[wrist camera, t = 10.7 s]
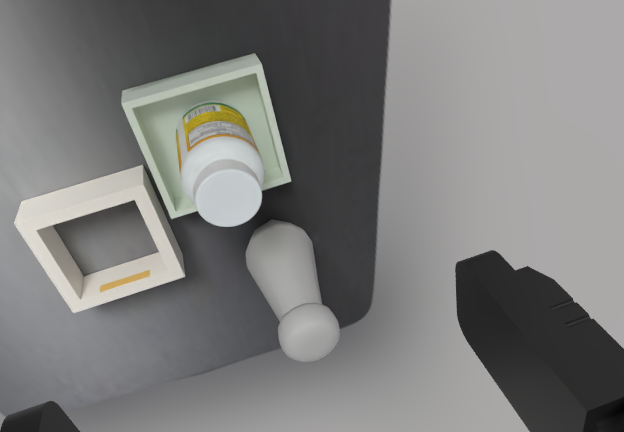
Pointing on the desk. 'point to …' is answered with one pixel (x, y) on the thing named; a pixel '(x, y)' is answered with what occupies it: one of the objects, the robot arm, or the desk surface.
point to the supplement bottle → (219, 163)
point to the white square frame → (88, 199)
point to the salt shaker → (292, 289)
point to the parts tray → (187, 92)
